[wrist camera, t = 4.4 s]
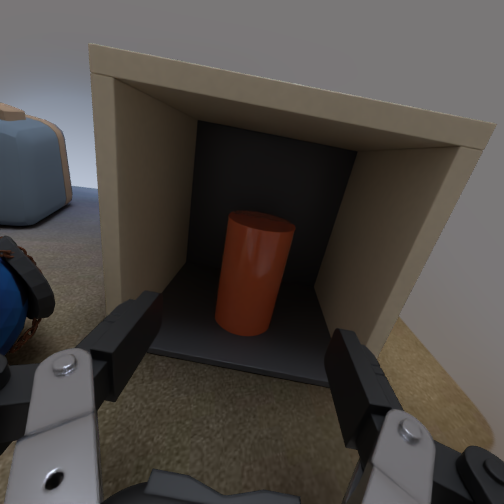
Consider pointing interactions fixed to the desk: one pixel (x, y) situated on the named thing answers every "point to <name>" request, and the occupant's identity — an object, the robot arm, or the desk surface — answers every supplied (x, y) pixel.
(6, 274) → the bomb
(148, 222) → the open cubby shelf
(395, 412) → the robot arm
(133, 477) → the desk surface
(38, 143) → the blue rounded box
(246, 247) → the glossy red cylinder
